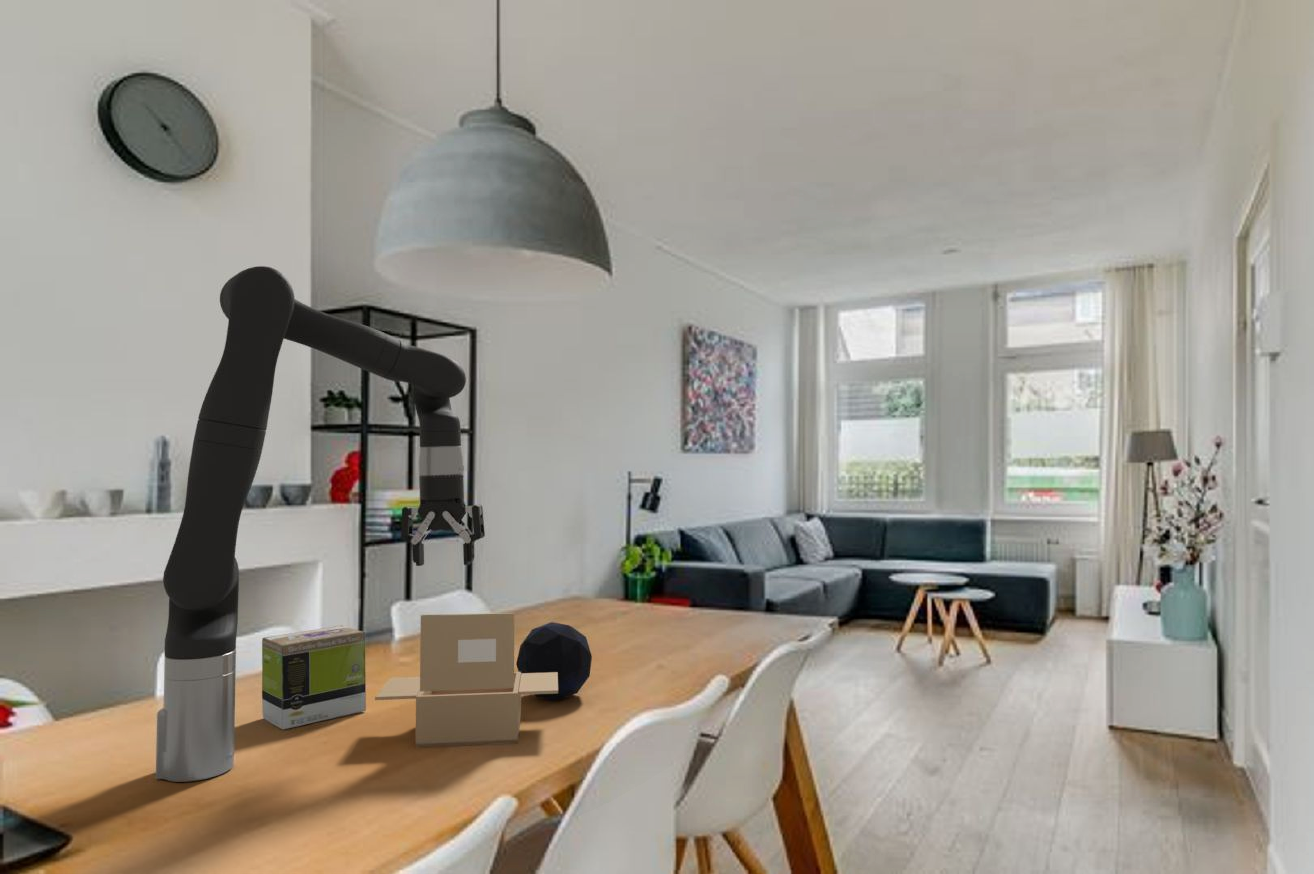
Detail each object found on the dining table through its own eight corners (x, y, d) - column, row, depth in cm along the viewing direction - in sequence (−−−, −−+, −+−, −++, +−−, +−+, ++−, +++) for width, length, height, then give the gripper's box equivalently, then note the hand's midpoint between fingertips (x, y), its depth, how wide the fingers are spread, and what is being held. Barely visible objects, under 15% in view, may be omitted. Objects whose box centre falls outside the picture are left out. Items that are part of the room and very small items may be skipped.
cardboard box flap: (419, 691, 130) (420, 615, 130) (420, 690, 130) (421, 614, 131) (513, 688, 132) (514, 613, 132) (514, 687, 132) (514, 612, 133)
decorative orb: (507, 660, 165) (515, 608, 157) (578, 654, 170) (590, 604, 162) (516, 720, 154) (526, 667, 146) (593, 711, 159) (606, 660, 151)
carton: (373, 749, 128) (373, 698, 129) (391, 721, 143) (391, 675, 143) (558, 741, 132) (558, 691, 132) (557, 714, 147) (557, 669, 147)
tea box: (343, 701, 155) (344, 623, 156) (366, 712, 148) (367, 631, 149) (260, 718, 145) (261, 634, 145) (280, 731, 138) (282, 643, 138)
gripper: (393, 474, 140) (396, 569, 140) (474, 472, 139) (477, 567, 139) (409, 473, 147) (412, 562, 147) (487, 470, 146) (489, 561, 146)
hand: (443, 564), depth 143 cm, fingers open, 8 cm apart
